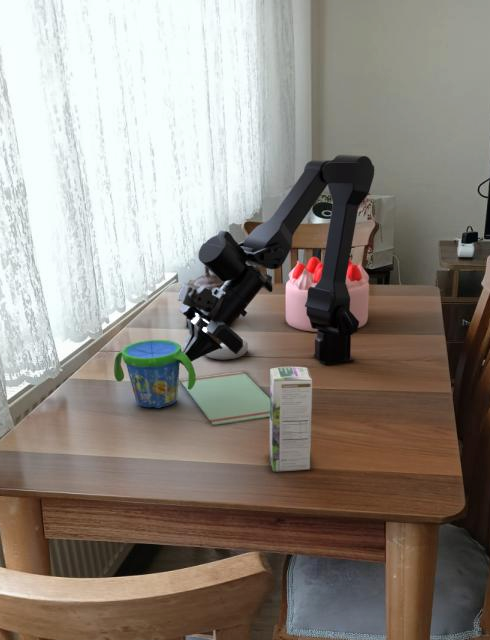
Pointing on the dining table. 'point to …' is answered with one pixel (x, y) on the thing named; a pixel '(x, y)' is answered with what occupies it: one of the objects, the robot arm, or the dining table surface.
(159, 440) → the dining table surface
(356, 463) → the dining table surface
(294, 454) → the syrup box
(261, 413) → the green flat piece
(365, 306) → the cake
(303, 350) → the dining table surface
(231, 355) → the donut
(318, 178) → the robot arm
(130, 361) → the snack cup
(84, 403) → the dining table surface
